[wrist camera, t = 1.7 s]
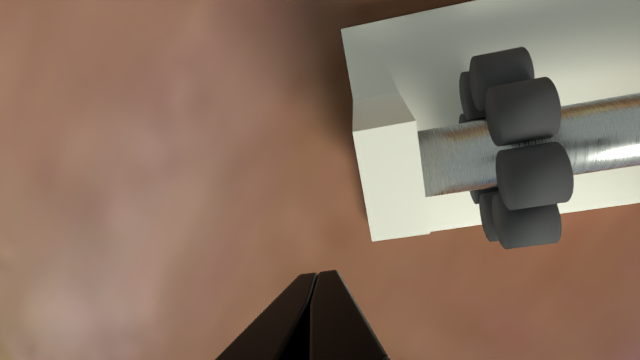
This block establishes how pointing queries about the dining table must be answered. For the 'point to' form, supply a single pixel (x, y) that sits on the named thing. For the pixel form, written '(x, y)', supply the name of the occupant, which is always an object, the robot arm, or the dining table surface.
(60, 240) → the dining table surface
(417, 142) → the base board
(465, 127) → the pipe
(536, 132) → the black lobed collar
